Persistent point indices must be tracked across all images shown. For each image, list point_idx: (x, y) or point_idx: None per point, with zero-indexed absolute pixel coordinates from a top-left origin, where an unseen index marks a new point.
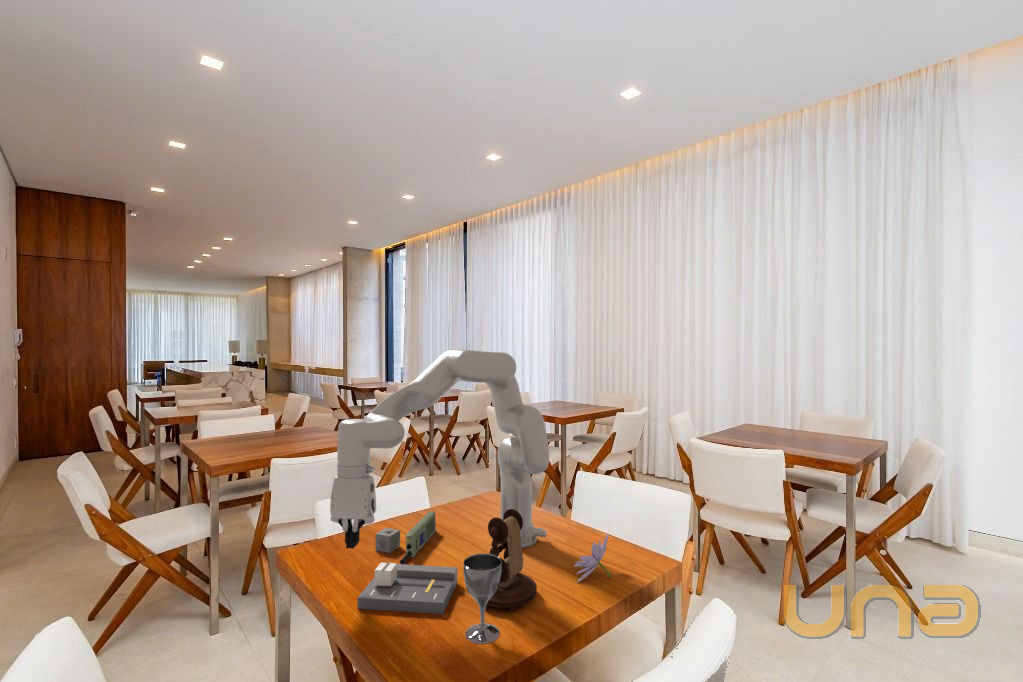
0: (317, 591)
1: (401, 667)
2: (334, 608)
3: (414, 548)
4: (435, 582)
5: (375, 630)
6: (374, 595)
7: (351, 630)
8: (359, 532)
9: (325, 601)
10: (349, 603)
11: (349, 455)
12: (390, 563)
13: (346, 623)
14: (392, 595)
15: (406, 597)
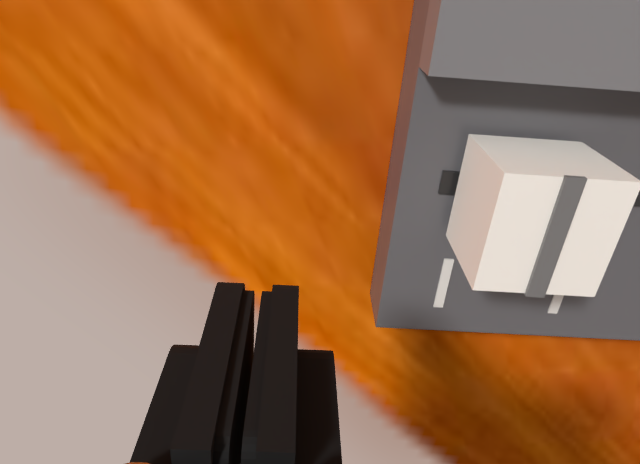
0: (73, 151)
1: None
2: (259, 294)
3: None
4: None
5: (482, 408)
6: (460, 306)
7: (392, 411)
8: (340, 443)
9: (182, 243)
10: (314, 255)
11: None
12: (588, 185)
13: (358, 380)
14: (558, 305)
15: (632, 316)
